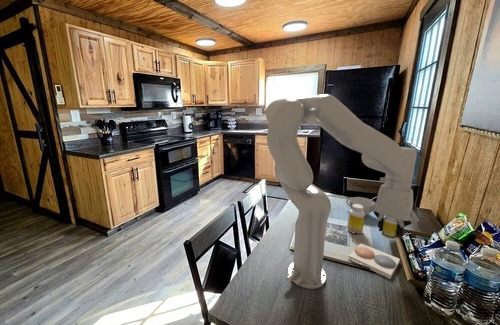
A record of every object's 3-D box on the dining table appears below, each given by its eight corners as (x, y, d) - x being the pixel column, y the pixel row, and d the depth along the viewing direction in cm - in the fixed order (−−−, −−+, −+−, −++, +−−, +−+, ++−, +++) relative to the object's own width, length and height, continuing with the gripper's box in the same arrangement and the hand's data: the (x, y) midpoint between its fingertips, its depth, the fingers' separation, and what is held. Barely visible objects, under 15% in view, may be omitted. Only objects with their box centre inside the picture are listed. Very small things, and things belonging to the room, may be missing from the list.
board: (390, 278, 75) (391, 273, 74) (348, 259, 84) (349, 254, 84) (399, 262, 83) (400, 257, 82) (360, 246, 92) (360, 242, 92)
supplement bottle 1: (364, 235, 101) (367, 209, 98) (348, 234, 102) (351, 208, 99) (360, 228, 107) (363, 203, 104) (345, 226, 108) (348, 202, 105)
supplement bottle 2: (397, 241, 75) (401, 218, 73) (381, 237, 78) (384, 215, 76) (396, 234, 79) (400, 213, 77) (381, 231, 82) (384, 210, 80)
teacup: (377, 215, 121) (379, 201, 119) (366, 221, 113) (368, 207, 112) (351, 206, 132) (353, 193, 131) (339, 211, 125) (341, 198, 123)
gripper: (366, 180, 77) (360, 227, 81) (427, 193, 66) (416, 247, 70) (373, 176, 82) (367, 221, 87) (431, 187, 71) (421, 238, 75)
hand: (389, 232), depth 78 cm, fingers closed on supplement bottle 2, 4 cm apart
